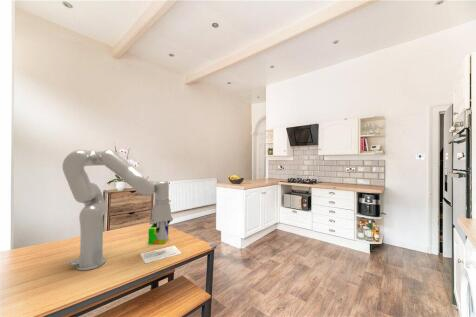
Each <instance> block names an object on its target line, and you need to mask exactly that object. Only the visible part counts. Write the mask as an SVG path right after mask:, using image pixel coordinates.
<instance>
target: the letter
mask: <svg viewBox="0 0 476 317" xmlns="http://www.w3.org/2000/svg"><path fill="white" fill-rule="evenodd" d="M181 254H182V252H181V250H180V249H178V248H177V247H176V245H172V246H171V245H170V246H167V247H163V248H159V249H155V250H151V251H147V252H143V253H140V256H141V259H142V260H143V262H144V264H148V263H151V262H155V261H156V262H157V261H159V260H163V259H167V258H171V257H174V256H177V255H181Z"/></svg>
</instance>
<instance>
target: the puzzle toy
mask: <svg viewBox="0 0 476 317" xmlns="http://www.w3.org/2000/svg"><path fill="white" fill-rule="evenodd" d="M156 234H157V233H156V227H155V226H154V225H151V226H150V227H149V228H148V239H147V240H148V245H165V244H166V242H167V241H168V239H169V225H168V226H167V235H166V238H165V239H162V240H159V239H158V238H157V236H156Z"/></svg>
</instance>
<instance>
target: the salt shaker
mask: <svg viewBox="0 0 476 317" xmlns="http://www.w3.org/2000/svg"><path fill="white" fill-rule="evenodd" d="M162 221H164V220H163V219H162ZM159 228H160V229H159V233H157V234H156V236H157V238H158V239H159V240H162V239H165V238H166V235H167V231H166V229H165V221H164V222H159Z"/></svg>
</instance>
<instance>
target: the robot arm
mask: <svg viewBox="0 0 476 317" xmlns="http://www.w3.org/2000/svg"><path fill="white" fill-rule="evenodd" d="M90 166H91V167H92V166H104V167H106V168H108V169H109V170H110V171H112V173H114V174H115V175H117V176H118V177H119V178H120V179H121V180H122V181H123V182H125V183H126V184H128V185H129V186H130V187H131V188H132V189H133V190H135V191H137V192H138V193H139V194H140V195H142V196H145V197H148V196H152V195H153V194H154V204H153V205H152V211H151V220H150V222H149V224H150V225H151V226H152V225H154V226H155V227H156V233H159V229H160V228H159V222H164V221H165V229H166V231H167V226H168V227H169V224H170V223H171V222H172V221H173V220H174V218H173V216H172V210H171V209H172V208H171V204H170V202H171V201H172V199H171V198H169V195H170V194H169V189H170V188H169V187H170V185H169V184H170V183H169V181H167V180H157V181H156V180H148V179H146V178H145V177H144V176H143V175H141V174H140V173H139V172H138V171H137V169H136V167H135V166H133V165H132V164H131V163H129V161H127V160H126V159H124V158H123V157H122V156H121V155H120V154H119V153H118V152H117V151H116V150H112V149H105V150H87V149H76V150H72V151H71V152H70V153H69V154H68V155H66V157H65V158H64V160H63V162H62V167H61V168H62V171H63V174H64V177H65V179H66V181H67V184H68V187H69V189H70V192H71V194H72V196H73V198H74V200H75V201H76V202H77V203H79V204H83V205H84V206H83V208H82V209H81V210H80V213H79V227H80V228H79V229H80V231H79V232H80V240H79V241H80V245H79V246H80V247H79V249H80V250H79V253H80V254H79V257H77V258H76V259H72V260H71V259H70V260H68V266H70V265H71V267H72V266H75V268H76V270H77V271H90V270H94V269H96V268H99V267H101V266H103V265H104V264H105V263H106V261H107V258H106V257H105V256H103V254H104V252H103V248H104V246H103V245H104V222H103V216H104V215H105V214H106V212H107V210H108V208H107V202H106V200H105V198H104V196H103V193H102V191H101V189H100V187H99V186H98V185H97V184H96V183H93V182H91V181H90V178H89V176H88V173H87V172H86V170H85V167H90ZM162 219H163V220H164V221H162Z"/></svg>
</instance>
